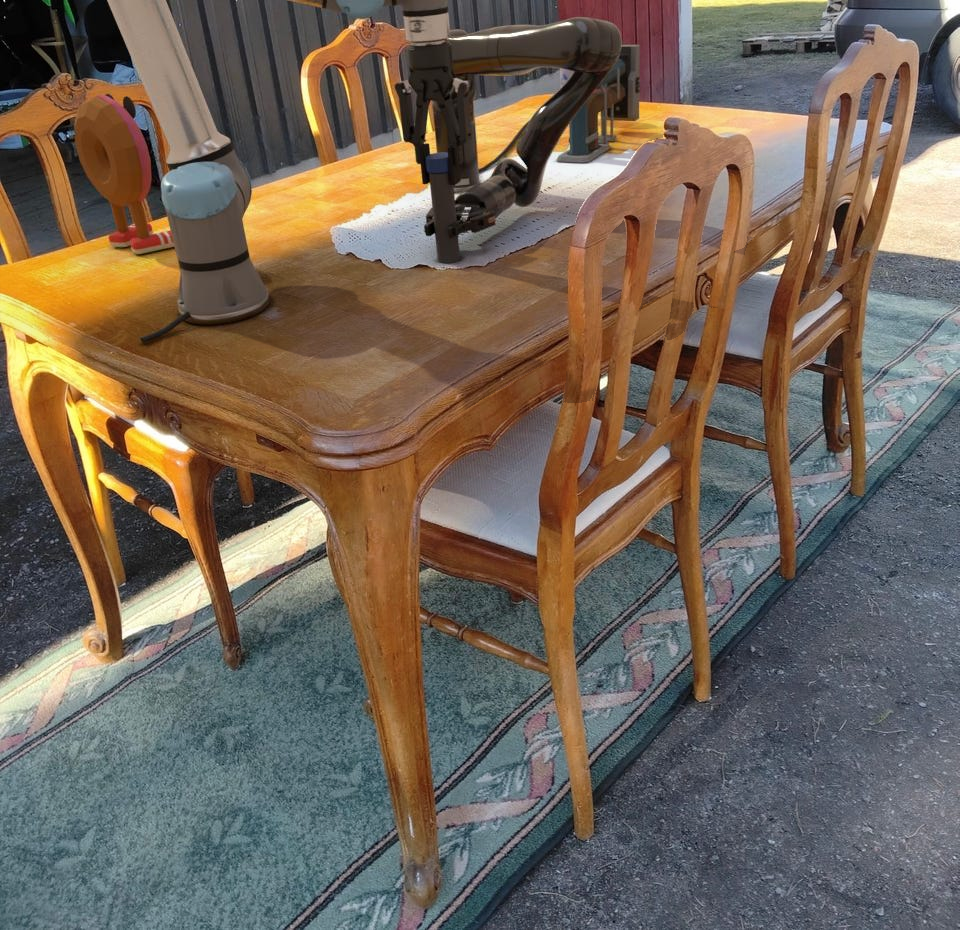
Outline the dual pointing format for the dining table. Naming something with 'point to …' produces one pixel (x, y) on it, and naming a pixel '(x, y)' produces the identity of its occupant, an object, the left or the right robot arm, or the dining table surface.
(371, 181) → the dining table surface
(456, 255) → the bottle
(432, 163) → the lid
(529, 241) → the dining table surface
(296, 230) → the dining table surface
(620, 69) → the clamp
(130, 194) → the toy
